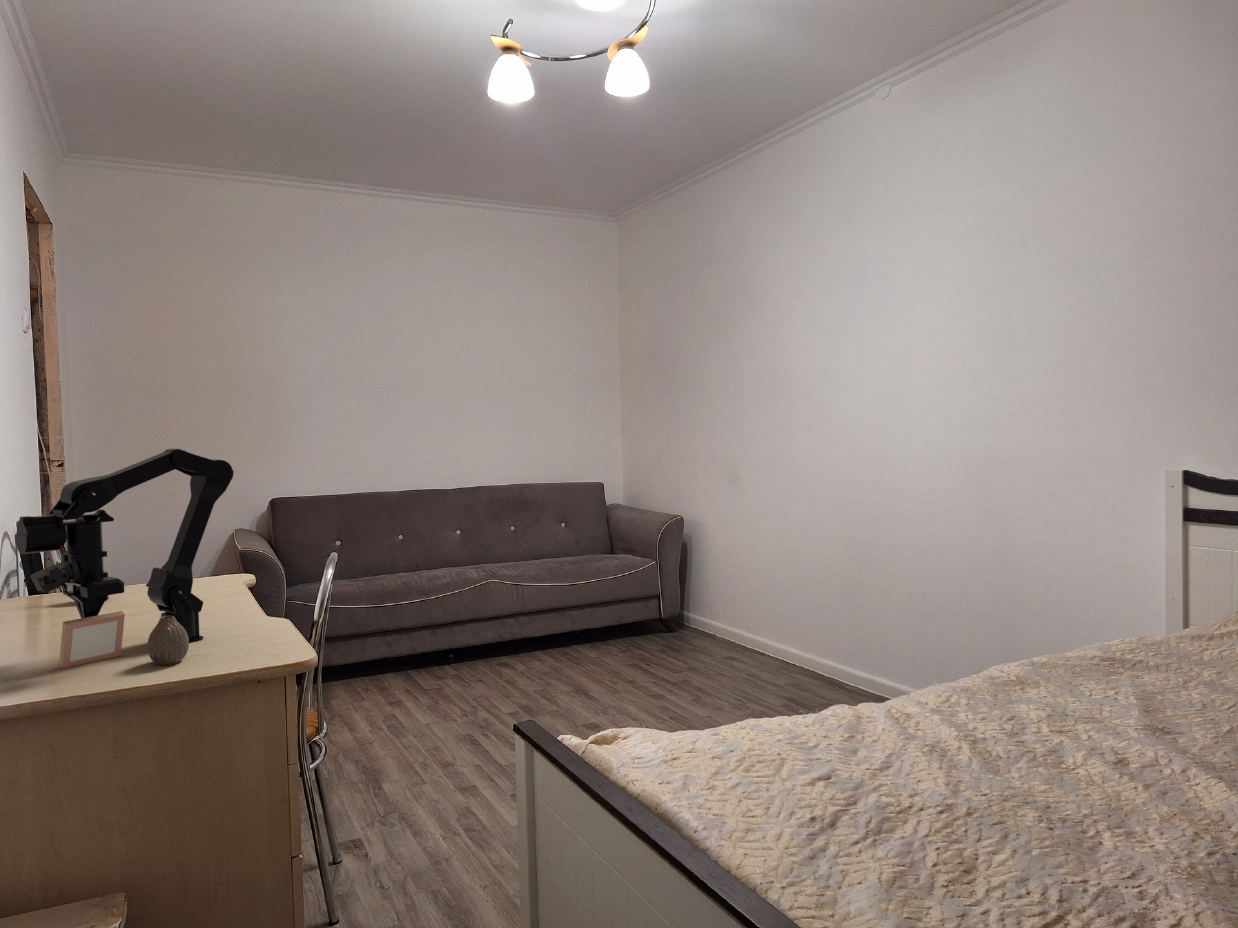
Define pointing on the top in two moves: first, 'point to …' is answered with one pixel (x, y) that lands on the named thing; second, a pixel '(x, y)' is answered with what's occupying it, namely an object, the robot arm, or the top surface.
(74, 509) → the robot arm
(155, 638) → the vase
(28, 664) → the top surface
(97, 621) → the tile
